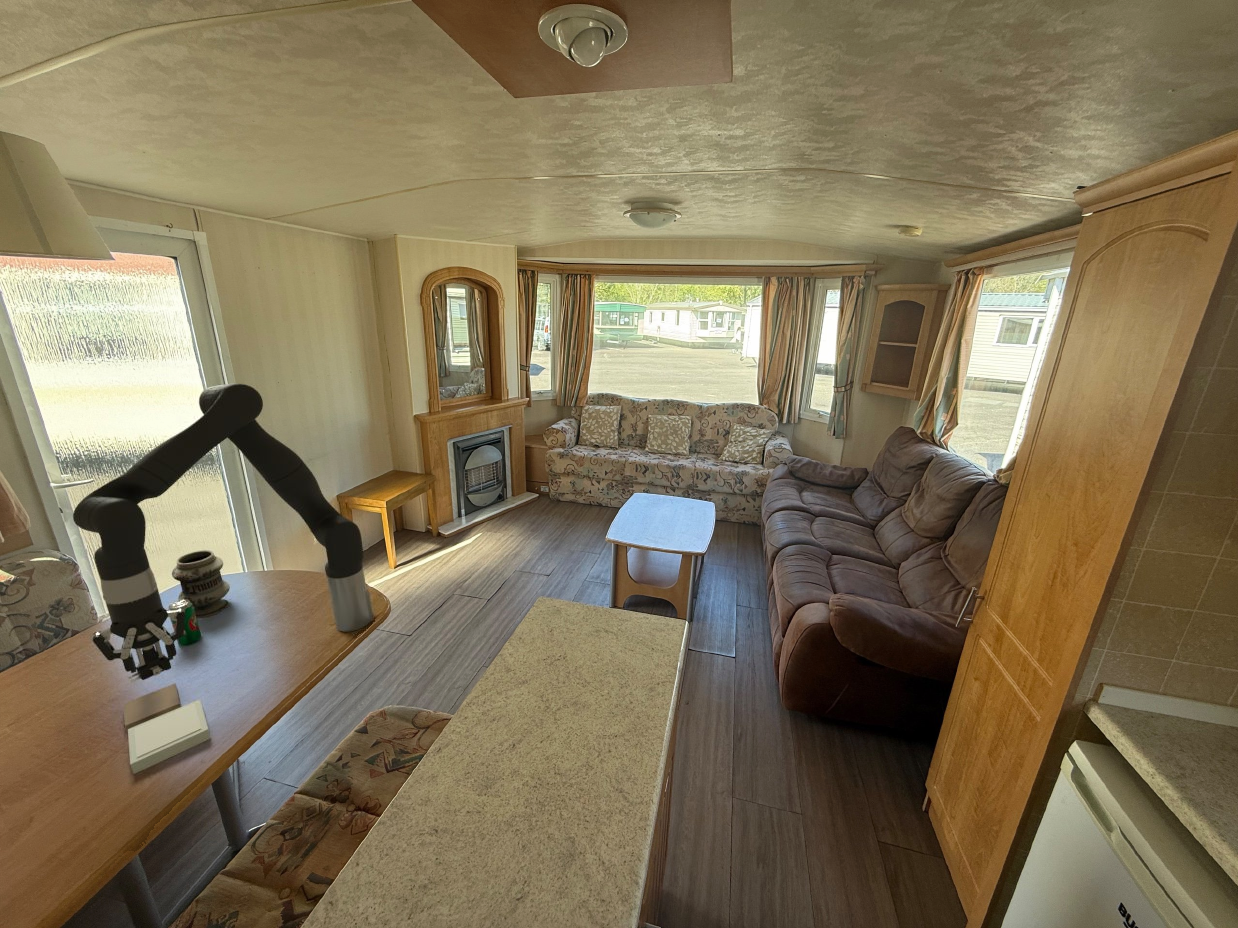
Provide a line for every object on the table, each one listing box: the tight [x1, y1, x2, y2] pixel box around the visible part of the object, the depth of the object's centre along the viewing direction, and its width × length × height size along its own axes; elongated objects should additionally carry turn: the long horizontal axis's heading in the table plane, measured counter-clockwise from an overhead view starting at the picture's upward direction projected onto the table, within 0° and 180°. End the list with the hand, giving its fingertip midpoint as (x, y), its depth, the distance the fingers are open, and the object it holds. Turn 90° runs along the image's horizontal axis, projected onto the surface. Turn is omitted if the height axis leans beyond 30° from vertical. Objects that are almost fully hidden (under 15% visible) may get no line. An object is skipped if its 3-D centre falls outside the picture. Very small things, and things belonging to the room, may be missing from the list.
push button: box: [127, 633, 172, 683], centre depth 101 cm, size 7×5×10 cm
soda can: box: [167, 599, 203, 647], centre depth 134 cm, size 5×5×12 cm
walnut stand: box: [123, 683, 182, 734], centre depth 112 cm, size 9×9×2 cm
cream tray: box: [127, 698, 212, 775], centre depth 105 cm, size 12×12×3 cm
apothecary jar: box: [171, 549, 230, 619], centre depth 148 cm, size 12×12×18 cm
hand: (152, 663), depth 102 cm, fingers closed on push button, 5 cm apart
